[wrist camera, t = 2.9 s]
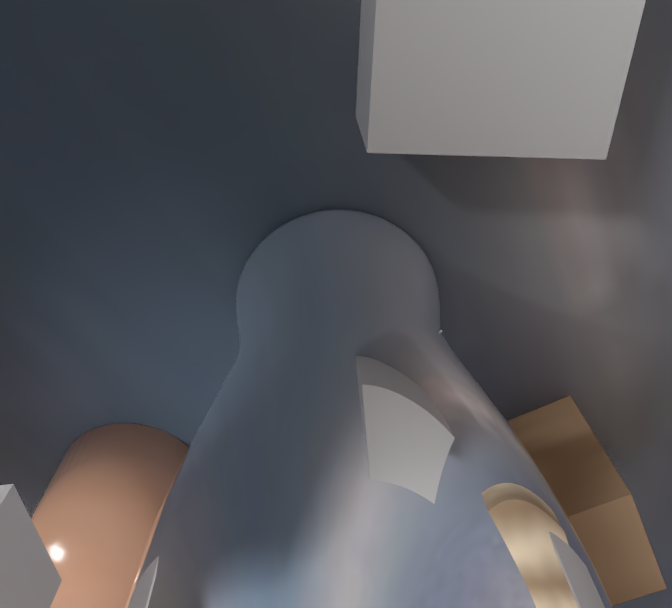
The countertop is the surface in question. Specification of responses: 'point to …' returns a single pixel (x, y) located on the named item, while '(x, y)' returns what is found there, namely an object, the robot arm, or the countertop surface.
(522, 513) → the silver metal cup
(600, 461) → the oak cube
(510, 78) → the grey plastic box
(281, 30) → the countertop surface
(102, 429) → the peach rounded capsule
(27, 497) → the countertop surface
